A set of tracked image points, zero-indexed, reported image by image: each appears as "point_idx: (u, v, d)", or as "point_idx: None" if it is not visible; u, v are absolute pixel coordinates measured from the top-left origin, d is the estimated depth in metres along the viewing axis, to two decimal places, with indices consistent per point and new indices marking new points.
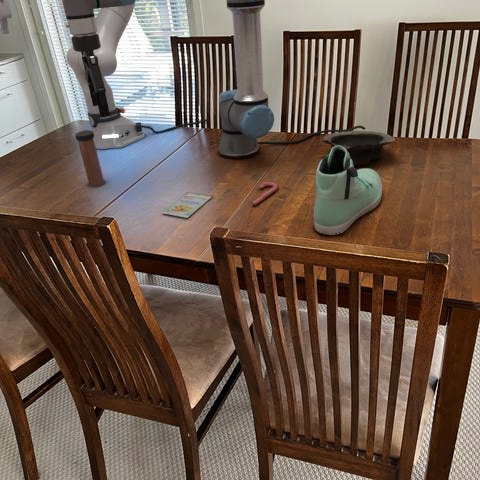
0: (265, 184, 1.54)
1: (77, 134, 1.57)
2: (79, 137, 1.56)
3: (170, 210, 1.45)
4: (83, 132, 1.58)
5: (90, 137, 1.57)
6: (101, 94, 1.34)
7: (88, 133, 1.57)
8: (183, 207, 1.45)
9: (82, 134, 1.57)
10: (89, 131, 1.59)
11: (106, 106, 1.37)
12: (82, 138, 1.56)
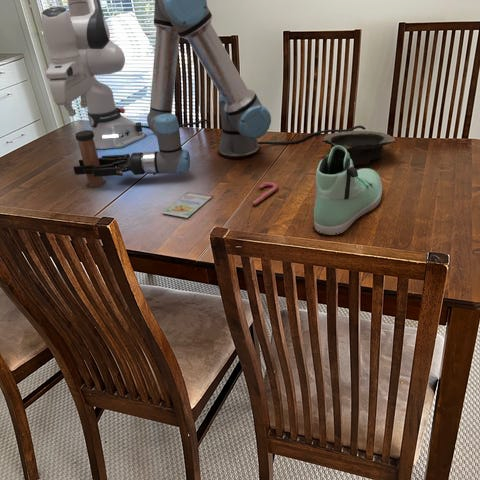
0: (265, 184, 1.54)
1: (77, 134, 1.57)
2: (79, 137, 1.56)
3: (170, 210, 1.45)
4: (83, 132, 1.58)
5: (90, 137, 1.57)
6: None
7: (88, 133, 1.57)
8: (183, 207, 1.45)
9: (82, 134, 1.57)
10: (89, 131, 1.59)
11: None
12: (82, 138, 1.56)
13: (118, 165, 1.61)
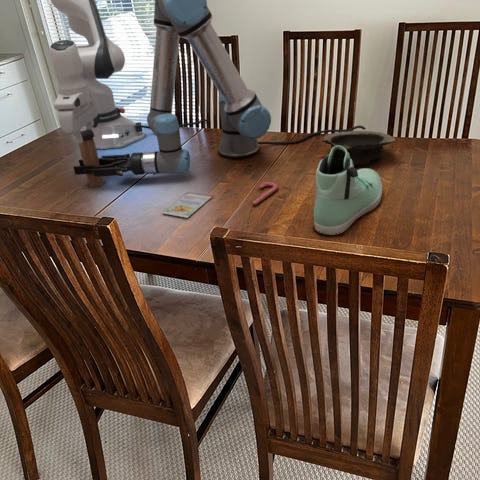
0: (265, 184, 1.54)
1: None
2: None
3: (170, 210, 1.45)
4: (83, 132, 1.58)
5: (90, 137, 1.57)
6: None
7: (88, 133, 1.57)
8: (183, 207, 1.45)
9: (82, 134, 1.57)
10: (89, 131, 1.59)
11: None
12: None
13: (118, 165, 1.61)
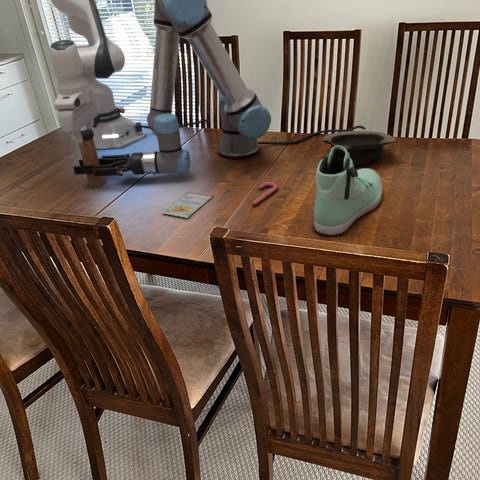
0: (265, 184, 1.54)
1: (84, 134, 1.56)
2: (90, 134, 1.57)
3: (170, 210, 1.45)
4: (81, 133, 1.57)
5: None
6: None
7: (88, 130, 1.59)
8: (183, 207, 1.45)
9: (87, 132, 1.57)
10: (82, 131, 1.59)
11: None
12: (92, 135, 1.58)
13: (118, 165, 1.61)
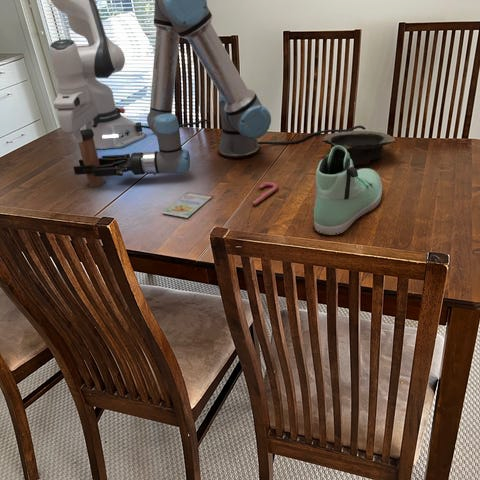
0: (265, 184, 1.54)
1: (90, 131, 1.58)
2: None
3: (170, 210, 1.45)
4: (83, 133, 1.57)
5: None
6: None
7: (81, 131, 1.59)
8: (183, 207, 1.45)
9: (86, 130, 1.58)
10: None
11: None
12: None
13: (118, 165, 1.61)
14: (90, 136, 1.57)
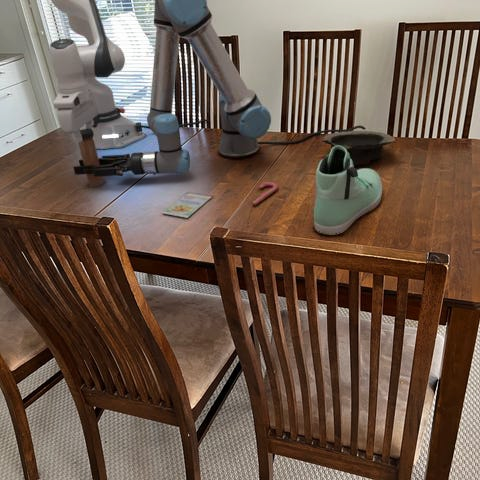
0: (265, 184, 1.54)
1: (85, 129, 1.59)
2: None
3: (170, 210, 1.45)
4: (86, 131, 1.57)
5: (75, 136, 1.57)
6: None
7: None
8: (183, 207, 1.45)
9: (81, 131, 1.58)
10: (83, 133, 1.56)
11: None
12: None
13: (118, 165, 1.61)
14: None
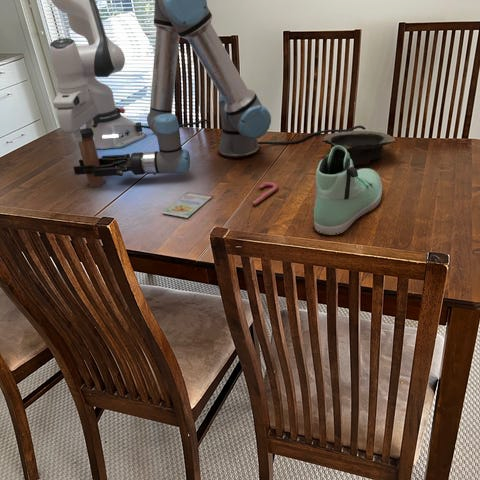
0: (265, 184, 1.54)
1: None
2: None
3: (170, 210, 1.45)
4: (84, 130, 1.58)
5: (84, 137, 1.56)
6: None
7: (84, 132, 1.56)
8: (183, 207, 1.45)
9: None
10: (89, 130, 1.57)
11: None
12: None
13: (118, 165, 1.61)
14: None
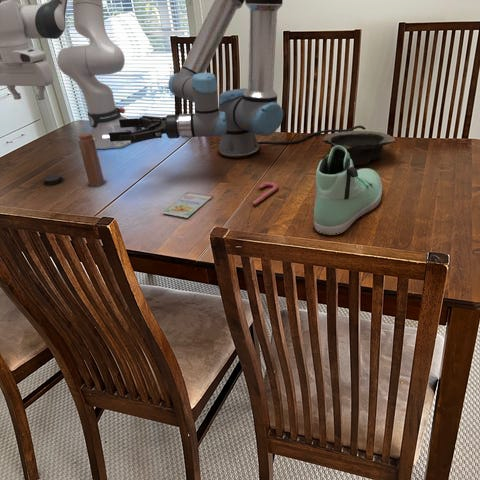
0: (265, 184, 1.54)
1: (56, 178, 1.69)
2: (61, 177, 1.71)
3: (170, 210, 1.45)
4: (50, 178, 1.70)
5: None
6: None
7: (53, 175, 1.72)
8: (183, 207, 1.45)
9: (56, 176, 1.71)
10: (47, 177, 1.71)
11: None
12: None
13: (152, 127, 1.54)
14: (53, 183, 1.69)
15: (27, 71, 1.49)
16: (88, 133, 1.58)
